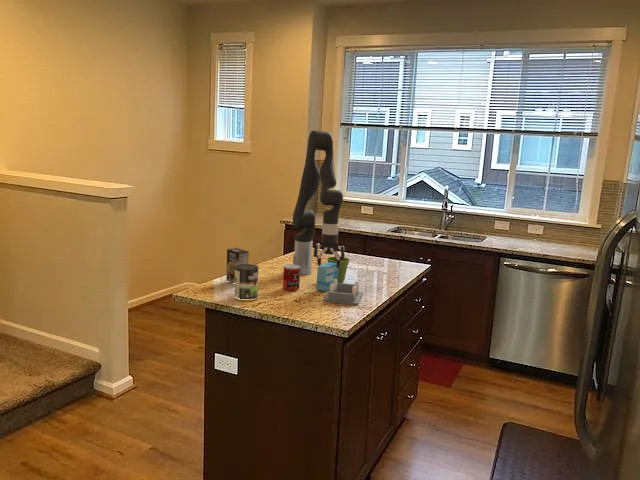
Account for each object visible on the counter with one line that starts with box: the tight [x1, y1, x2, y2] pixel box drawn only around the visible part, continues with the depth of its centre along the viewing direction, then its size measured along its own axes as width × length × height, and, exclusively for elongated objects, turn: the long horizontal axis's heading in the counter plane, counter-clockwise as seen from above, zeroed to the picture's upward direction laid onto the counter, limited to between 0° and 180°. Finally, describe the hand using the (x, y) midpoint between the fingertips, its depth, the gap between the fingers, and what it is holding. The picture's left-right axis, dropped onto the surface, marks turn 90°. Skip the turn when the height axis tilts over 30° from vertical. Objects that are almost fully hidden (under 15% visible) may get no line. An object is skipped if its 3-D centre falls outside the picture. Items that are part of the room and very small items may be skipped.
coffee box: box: [225, 247, 250, 284], centre depth 264 cm, size 9×6×16 cm
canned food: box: [282, 263, 301, 292], centre depth 259 cm, size 8×8×11 cm
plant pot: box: [326, 256, 351, 283], centre depth 278 cm, size 12×12×11 cm
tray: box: [323, 279, 364, 306], centre depth 249 cm, size 15×18×7 cm
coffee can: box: [234, 263, 260, 299], centre depth 241 cm, size 10×10×14 cm
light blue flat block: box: [316, 261, 338, 293], centre depth 262 cm, size 12×4×12 cm, turn 149°
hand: (328, 266), depth 260 cm, fingers open, 8 cm apart
